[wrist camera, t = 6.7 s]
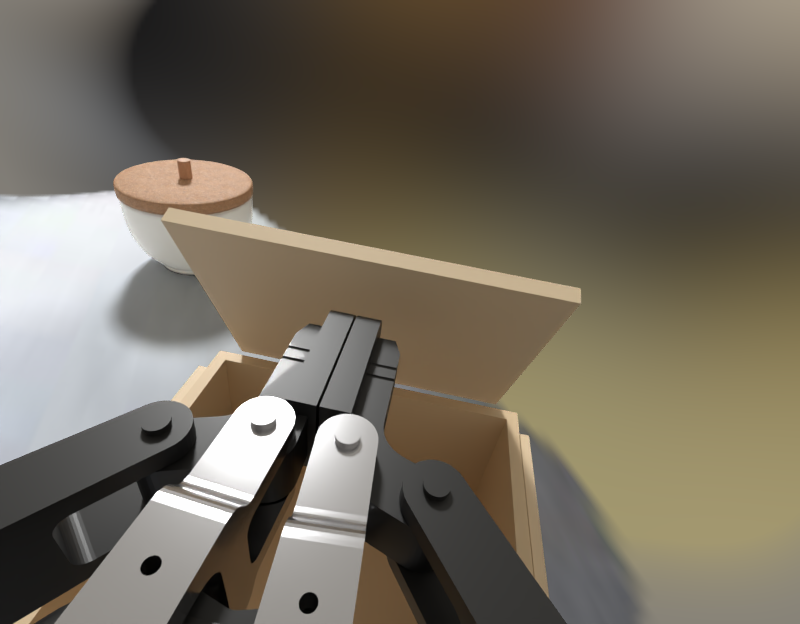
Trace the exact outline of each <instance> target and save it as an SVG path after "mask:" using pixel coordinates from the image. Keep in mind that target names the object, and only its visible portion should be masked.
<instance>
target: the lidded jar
mask: <svg viewBox="0 0 800 624" xmlns="http://www.w3.org/2000/svg"><path fill="white" fill-rule="evenodd" d="M113 185H114V190H115V193H116V196H117V198H118V199H119V202H120V206H121V210H122V213H123V216H124V219H125V222H126V224H127V226H128V229H129V231H130V233H131V235H132V236H133V238H134V240H135V241H136V242H137V244H138V245H139V246H140V247H141V249H142V250H143V251H144V252H145V253H146V254H148V255H149V256H150V257H151V258H153V259H154V260H156V261H158V262H160V263H162V264H164V266H165V267H166V268H167V269H169V270H171V271H173V272H176V273H180V274H186V275H195V274H194V273H193V271H192V270H191V268H190V266H189V265H188V263H187V262H186V260H185V258H184V257H183V255H182V254H181V252H180V250H179V249H178V247H177V245H176V244H175V242H174V241H173V239H172V237H171V236H170V234H169V233H168V231H167V229H166V228H165V226H164V225H163V223H162V221H161V219H162V217H163V216H164V214H165V213H166V211H167V209H168V208H175V209H180V210H185V211H190V212H195V213H200V214H205V215H210V216H215V217H220V218H225V219H230V220H235V221H240V222H246V223H251V224H252V215H253V213H252V195H253V183H252V180H251V179H250V177H249V176H248V175H247V174H246V173H244V172H243V171H241V170H239V169H236V168H234V167H231V166H227V165H224V164H220V163H215V162H208V161H200V160H190V159H187V158H179V159H177V160H164V161H156V162H149V163H145V164H140V165H137V166H133V167H130V168H128V169H126V170H124V171H122V172H121V173H119V174H118V175H117V176H116V177H115V179H114V182H113Z"/></svg>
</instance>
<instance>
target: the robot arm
mask: <svg viewBox="0 0 800 624" xmlns="http://www.w3.org/2000/svg"><path fill="white" fill-rule="evenodd" d="M381 328H382V320H377V319H373V318H368V317H363V316H357V317H356V315H353V314H348V313H343V312H338V311H333V310H331V311H330V312H329V314H328V316H327V318H326V320H325V322H324V324H323V326H320V325H315V324H310V323H309V324H308V325H307V326H305V327H304V328H302V329H301V330H299V331H298V332H297V333H296V334H295V336H294V337H293V339H292V341H291V342H290V344H289V347H288V348H287V349H286V351H285V353H284V354H283V357H282V358H281V359H280V361H279V363H278V365H277V366H276V368H275V370H274V371H273V373H272V375H271V377H270V378H269V380H268V382H267V383H266V385H265V387H264V388H263V390H262V392H261V394H260V395H259V397H258V398H255V399H252V400H249V401H247V402H245V403H244V404H242V405H241V406H240V407H239V408H238V409H237V410H236V411H235V412H234V414H231V415H227V416H217V417H199V418H193V414H192V412H191V410H190V409H189V408H188V407H187V406H186V405H184V404H182V403H180V402H176V401H158V402H154V403H150V404H148V405H145V406H142V407H140V408H138V409H135V410H133V411H130V412H128V413H126V414H123V415H121V416H118V417H116V418H113V419H111V420H109V421H106V422H104V423H101V424H99V425H97V426H94V427H92V428H89V429H87V430H84V431H82V432H80V433H77V434H75V435H72V436H70V437H68V438H65V439H63V440H60V441H58V442H55V443H53V444H51V445H48V446H46V447H43V448H41V449H39V450H36V451H34V452H31V453H29V454H26V455H24V456H22V457H19V458H17V459H14V460H12V461H9V462H7V463H5V464H2V465H0V624H14V623H15V622H17V621H19V620H20V619H22V618H24V617H25V616H27V615H29V614H30V613H32V612H34V611H35V610H37V609H39V608H40V607H42V606H44V605H45V604H47V603H49V602H50V601H52V600H54V599H55V598H57V597H59V596H60V595H62V594H64V593H65V592H67V591H69V590H70V589H72V588H74V587H75V586H77V585H79V584H80V583H82V582H84V581H85V580H87V579H89V580H88V581H87V582H86V583H85V585H84V586H83V587H82V589H81V590H80V591H79V592H78V594H77V595H76V596H75V598H74V599H73V600H72V601H71V602H70V603H68V604H66V605H64V606H62V607H60V608H58V609H57V610H55V611H53V612H52V613H50V614H48V615H47V616H45V617H44V618H42V619H41V620H39V621H37V622H36V623H34V624H353V618H354V611H355V604H356V597H357V590H358V583H359V576H360V569H361V562H362V555H363V549H364V541H365V542H366V543H368V544H369V545H371V546H372V547H374V548H375V549H377V550H379V551H380V552H382V553H383V554H385V555H386V556H387V560H388V563H389V566H390V568H391V570H392V572H393V574H394V576H395V578H396V580H397V582H398V584H399V586H400V588H401V590H402V592H403V594H404V597H405V599H406V601H407V603H408V605H409V607H410V609H411V611H412V613H413V615H414V617H415V619H416V621H417V623H418V624H567V623H566V622H565V621H564V619H563V618H562V616H561V615H560V614H559V612H558V611H557V609H556V608H555V607H554V605H553V604H552V602H551V601H550V599H549V598H548V597H547V595H546V594H545V592H544V591H543V590H542V588H541V587H540V585H539V584H538V582H537V581H536V580H535V578H534V577H533V575H532V574H531V573H530V571H529V570H528V568H527V567H526V566H525V564H524V563H523V561H522V560H521V558H520V557H519V556H518V554H517V553H516V551H515V550H514V549H513V547H512V546H511V544H510V543H509V541H508V540H507V539H506V537H505V536H504V534H503V533H502V532H501V530H500V529H499V527H498V526H497V525H496V523H495V522H494V520H493V519H492V517H491V516H490V515H489V513H488V512H487V510H486V509H485V508H484V506H483V505H482V503H481V502H480V501H479V499H478V498H477V496H476V495H475V493H474V492H473V491H472V489H471V488H470V486H469V485H468V484H467V482H466V481H465V479H464V478H463V476H462V475H461V474H460V473H459V472H458V471H457V470H456V469H455V468H454V467H452V466H451V465H449V464H447V463H445V462H442V461H439V460H423V461H420V462H417V463H413V462H412V461H410V460H408V459H406V458H404V457H403V456H401V455H400V454H398V453H397V452H396V451H394V450H393V449H392V447H391V446H390V445H389V443H388V442H387V440H386V438H385V435H384V429H385V425H386V421H387V416H388V412H389V408H390V404H391V399H392V395H393V390H394V385H395V380H396V374H397V369H398V363H399V358H400V352H399V349H398V346H397V343H396V341H392V340H387V339H383V338H380V335H381ZM303 466H306V467H307V468H306V472H305V475H304V478H303V482H302V485H301V489H300V492H299V495H298V499H297V502H296V506H295V509H294V512H293V514H292V516H291V517H288V519H287V521H286V523H285V525H284V528H283V531H282V534H281V537H280V540H279V544H278V547H277V550H276V554H275V557H274V560H273V563H272V567H271V570H270V573H269V576H268V580H267V583H266V586H265V589H264V593H263V596H262V599H261V603H260V606H259V609H250V610H246V608H247V606H248V603H249V601H250V598H251V595H252V591H253V587H254V583H255V579H256V575H257V572H258V570H259V567H260V565H261V563H262V561H263V559H264V557H265V554H266V552H267V550H268V548H269V546H270V544H271V542H272V540H273V538H274V536H275V534H276V532H277V529H278V527H279V525H280V523H281V521H282V519H283V517H284V515H285V513H286V511H287V509H288V506H289V504H290V502H291V500H292V498H293V496H294V493H295V488H296V483H297V480H298V478H299V475H300V473H301V470H302V468H303Z"/></svg>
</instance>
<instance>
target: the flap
mask: <svg viewBox="0 0 800 624" xmlns="http://www.w3.org/2000/svg"><path fill="white" fill-rule="evenodd" d="M161 221H162V223H163V225H164V226H165V228H166V229H167V231H168V233H169V234H170V236H171V237H172V239H173V241H174V242H175V244H176V245H177V247H178V249H179V250H180V252H181V254H182V255H183V257H184V258H185V260H186V262H187V263H188V265H189V266H190V268H191V270H192V271H193V273H194V274H195V276H196V278H197V279H198V281H199V282H200V284H201V286H202V287H203V289H204V290H205V292H206V294H207V295H208V297H209V298H210V300H211V302H212V303H213V305H214V306H215V308H216V310H217V311H218V313H219V314H220V316H221V318H222V319H223V321H224V322H225V324H226V326H227V327H228V329H229V331H230V332H231V334H232V335H233V337H234V339H235V340H236V342H237V343H238V345H239V347H240V348H241V350H242V351H244V352H249V353H254V354H259V355H263V356H268V357H273V358H278V359H281V358H282V357H283V354H284V353H285V351H286V349H287V348H288V347H289V344H290V342H291V341H292V339H293V337H294V336H295V334H296V333H297V332H298V331H299V330H301V329H302V328H304V327H305V326H307V325H308V324H309V323H310V324H315V325H320V326H323V324H324V322H325V320H326V318H327V316H328V314H329V312H330V311H331V310H333V311H338V312H343V313H348V314H353V315H356V317H357V316H363V317H368V318H373V319H377V320H382V328H381V335H380V338H383V339H387V340H392V341H396V343H397V346H398V349H399V352H400V358H399V363H398V369H397V374H396V380H395V383H397V384H401V385H406V386H411V387H416V388H420V389H425V390H430V391H435V392H439V393H444V394H449V395H454V396H459V397H463V398H468V399H473V400H478V401H482V402H487V403H492V404H496V403H497V402H498V401H499V400H500V399H501V397H502V396H503V395H504V394H505V393H506V392H507V390H508V389H509V388H510V387H511V386H512V384H513V383H514V382H515V381H516V380H517V379H518V377H519V376H520V375H521V374H522V373H523V371H524V370H525V369H526V368H527V367H528V365H529V364H530V363H531V362H532V361H533V360H534V359H535V357H536V356H537V355H538V354H539V353H540V351H541V350H542V349H543V348H544V347H545V346H546V344H547V343H548V342H549V341H550V340H551V338H552V337H553V336H554V335H555V334H556V333H557V331H558V330H559V329H560V328H561V327H562V325H563V324H564V323H565V322H566V321H567V319H568V318H569V317H570V316H571V315H572V313H573V312H574V311H575V310H576V309H577V308H578V307H579V305H580V304H581V289H580V288H575V287H570V286H565V285H560V284H554V283H550V282H545V281H539V280H535V279H530V278H524V277H519V276H514V275H509V274H504V273H499V272H494V271H489V270H484V269H479V268H474V267H469V266H464V265H458V264H454V263H448V262H443V261H438V260H433V259H428V258H423V257H418V256H412V255H408V254H403V253H397V252H393V251H388V250H383V249H377V248H372V247H367V246H362V245H357V244H352V243H347V242H342V241H337V240H331V239H327V238H322V237H316V236H312V235H306V234H301V233H296V232H291V231H286V230H281V229H276V228H271V227H266V226H261V225H256V224H251V223H246V222H240V221H235V220H230V219H225V218H220V217H215V216H210V215H205V214H200V213H195V212H190V211H185V210H180V209H175V208H168V209H167V211H166V213H165V214H164V216H163V217H162V219H161Z"/></svg>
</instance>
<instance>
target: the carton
mask: <svg viewBox="0 0 800 624" xmlns="http://www.w3.org/2000/svg"><path fill="white" fill-rule="evenodd" d="M277 365H278V363H277V362H272V361H267V360H263V359H258V358H253V357H248V356H244V355H239V354H234V353H229V352H225V351H219V353H218V354H217V355H216V357H215V358H214V359H213V360H212V362H211V363H210V364H209V366H208V367H203V366H198V368H197V369H196V370H195V371H194V373H193V374H192V375H191V376H190V378H189V379H188V380H187V381H186V383H185V384H184V385H183V386H182V387H181V389H180V390H179V391H178V392H177V394H176V395H175V396H174V397H173V399H172V400H171V401H176V402H180V403H182V404H184V405H186V406H187V407H188V408H189V409H190V410H191V412H192V414H193V418H199V417H217V416H227V415H231V414H234V412H235V411H236V410H237V409H238V408H239V407H240V406H241V405H242V404H244V403H245V402H247V401H249V400H252V399H255V398H258V397H259V395H260V394H261V392H262V390H263V388H264V387H265V385H266V383H267V382H268V380H269V378H270V377H271V375H272V373H273V371H274V370H275V368H276V366H277ZM384 435H385V438H386V440H387V442H388V443H389V445H390V446H391V447H392V449H393V450H394V451H396V452H397V453H398V454H400V455H401V456H403V457H404V458H406V459H408V460H410V461H412V462H413V463H417V462H420V461H423V460H439V461H442V462H445V463H447V464H449V465H451V466H452V467H454V468H455V469H456V470H457V471H458V472H459V473H460V474H461V475H462V476H463V478H464V479H465V481H466V482H467V484H468V485H469V486H470V488H471V489H472V491H473V492H474V493H475V495H476V496H477V498H478V499H479V501H480V502H481V503H482V505H483V506H484V508H485V509H486V510H487V512H488V513H489V515H490V516H491V517H492V519H493V520H494V522H495V523H496V525H497V526H498V527H499V529H500V530H501V532H502V533H503V534H504V536H505V537H506V539H507V540H508V541H509V543H510V544H511V546H512V547H513V549H514V550H515V551H516V553H517V554H518V556H519V557H520V558H521V560H522V561H523V563H524V564H525V566H526V567H527V568H528V570H529V571H530V573H531V574H532V575H533V577H534V578H535V580H536V581H537V582H538V584H539V585H540V587H541V588H542V590H543V591H544V592H545V594H546V595H547V597H548V598H549V593H548V585H547V577H546V569H545V561H544V553H543V545H542V537H541V529H540V521H539V513H538V505H537V497H536V489H535V481H534V473H533V465H532V457H531V449H530V441H529V436H527V435H523V434H519V426H518V417H517V413H514V412H510V411H505V410H500V409H495V408H491V407H486V406H481V405H476V404H472V403H467V402H462V401H457V400H453V399H448V398H443V397H438V396H434V395H429V394H424V393H419V392H415V391H410V390H405V389H400V388H396V387H394V390H393V395H392V399H391V404H390V408H389V412H388V416H387V421H386V425H385V429H384ZM306 468H307V467H306V466H303V468H302V470H301V473H300V475H299V478H298V480H297V483H296V488H295V493H294V496H293V498H292V500H291V502H290V504H289V506H288V509H287V511H286V513H285V515H284V517H283V519H282V521H281V523H280V525H279V527H278V529H277V532H276V534H275V536H274V538H273V540H272V542H271V544H270V546H269V548H268V550H267V552H266V554H265V557H264V559H263V561H262V563H261V565H260V567H259V570H258V572H257V575H256V579H255V583H254V587H253V591H252V595H251V598H250V601H249V603H248V606H247V608H246V610H250V609H259V606H260V603H261V599H262V596H263V593H264V589H265V586H266V583H267V580H268V576H269V573H270V570H271V567H272V563H273V560H274V557H275V554H276V550H277V547H278V544H279V540H280V537H281V534H282V531H283V528H284V525H285V523H286V521H287V519H288V517H291V516H292V514H293V512H294V509H295V506H296V502H297V499H298V495H299V492H300V489H301V485H302V482H303V478H304V475H305V472H306ZM88 580H89V579H87V580H85V581H84V582H82V583H80V584H79V585H77V586H75V587H74V588H72V589H70V590H69V591H67V592H65V593H64V594H62V595H60V596H59V597H57V598H55V599H54V600H52V601H50V602H49V603H47V604H45V605H44V606H42V607H40V608H39V609H37V610H35V611H34V612H32V613H30V614H29V615H27V616H25V617H24V618H22V619H20V620H19V621H17V622H15V623H14V624H34V623H36V622H37V621H39V620H41V619H42V618H44V617H45V616H47V615H48V614H50V613H52V612H53V611H55V610H57V609H58V608H60V607H62V606H64V605H66V604H68V603H70V602H71V601H72V600H73V599H74V598H75V596H76V595H77V594H78V592H79V591H80V590H81V589H82V587H83V586H84V585H85V583H86V582H87V581H88ZM353 624H418V623H417V621H416V619H415V617H414V615H413V613H412V611H411V609H410V607H409V605H408V603H407V601H406V599H405V597H404V594H403V592H402V590H401V588H400V586H399V584H398V582H397V580H396V578H395V576H394V574H393V572H392V570H391V568H390V566H389V563H388V560H387V556H386V555H385V554H383V553H382V552H380V551H379V550H377V549H375V548H374V547H372V546H371V545H369V544H368V543H366V542H365V541H364V549H363V555H362V562H361V569H360V576H359V583H358V590H357V597H356V604H355V611H354V618H353Z"/></svg>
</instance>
